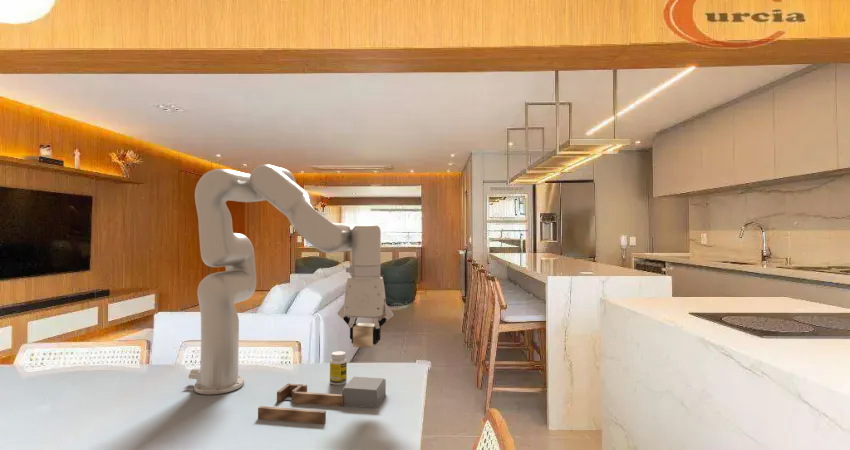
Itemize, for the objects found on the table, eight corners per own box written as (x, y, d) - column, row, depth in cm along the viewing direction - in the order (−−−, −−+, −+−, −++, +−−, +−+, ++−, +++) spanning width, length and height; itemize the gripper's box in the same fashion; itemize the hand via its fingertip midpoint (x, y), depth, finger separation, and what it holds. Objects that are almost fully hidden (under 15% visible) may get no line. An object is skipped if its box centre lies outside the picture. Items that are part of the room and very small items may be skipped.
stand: (341, 405, 109) (341, 388, 109) (353, 392, 118) (353, 376, 118) (376, 408, 107) (377, 390, 107) (385, 394, 116) (385, 378, 116)
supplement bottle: (342, 386, 122) (343, 355, 122) (327, 384, 123) (327, 354, 123) (349, 380, 127) (349, 351, 127) (333, 378, 128) (334, 350, 128)
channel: (255, 418, 101) (256, 407, 101) (287, 392, 117) (287, 383, 117) (328, 424, 98) (328, 413, 98) (350, 397, 114) (350, 387, 114)
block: (352, 346, 111) (353, 327, 111) (358, 341, 115) (358, 322, 116) (372, 347, 110) (372, 327, 110) (377, 342, 115) (377, 323, 115)
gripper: (328, 272, 110) (328, 344, 110) (394, 274, 108) (394, 348, 108) (339, 270, 118) (338, 337, 118) (401, 271, 115) (400, 340, 115)
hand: (365, 341), depth 113 cm, fingers closed on block, 5 cm apart
